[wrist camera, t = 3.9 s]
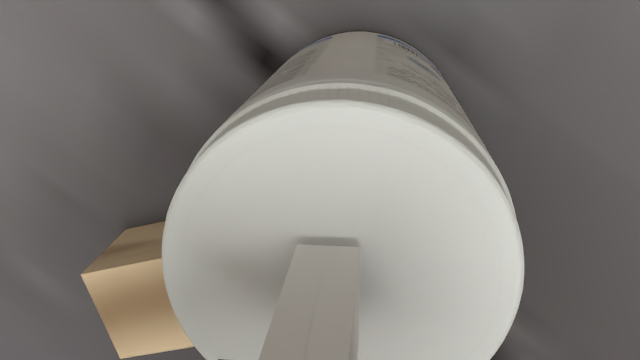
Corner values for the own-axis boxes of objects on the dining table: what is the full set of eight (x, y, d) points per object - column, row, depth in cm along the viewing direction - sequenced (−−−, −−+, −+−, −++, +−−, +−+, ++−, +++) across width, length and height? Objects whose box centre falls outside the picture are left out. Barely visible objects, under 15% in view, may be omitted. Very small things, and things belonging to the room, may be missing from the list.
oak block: (236, 289, 32) (210, 343, 27) (158, 303, 33) (120, 358, 28) (207, 211, 30) (174, 255, 26) (126, 228, 31) (80, 274, 27)
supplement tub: (280, 220, 30) (188, 433, 16) (248, 41, 27) (100, 120, 13) (464, 206, 28) (534, 427, 15) (454, 14, 25) (531, 71, 12)
